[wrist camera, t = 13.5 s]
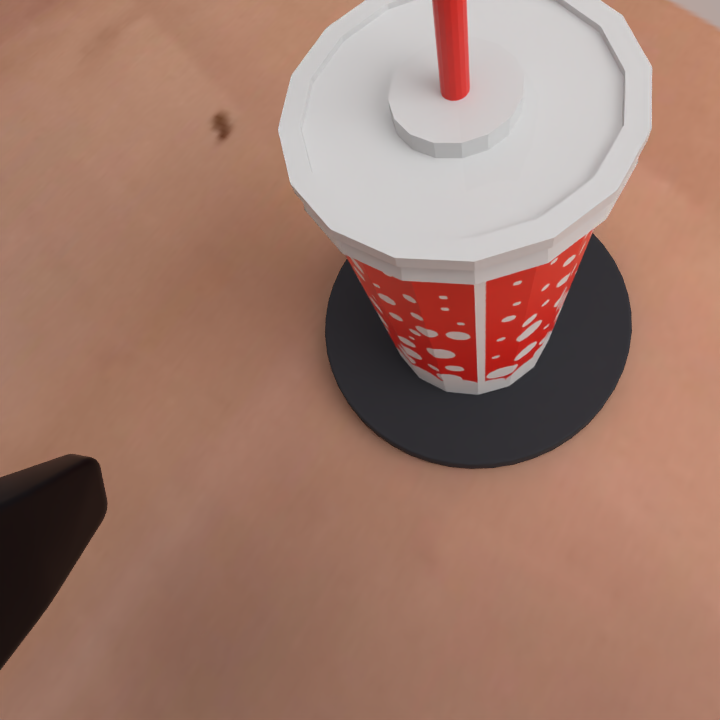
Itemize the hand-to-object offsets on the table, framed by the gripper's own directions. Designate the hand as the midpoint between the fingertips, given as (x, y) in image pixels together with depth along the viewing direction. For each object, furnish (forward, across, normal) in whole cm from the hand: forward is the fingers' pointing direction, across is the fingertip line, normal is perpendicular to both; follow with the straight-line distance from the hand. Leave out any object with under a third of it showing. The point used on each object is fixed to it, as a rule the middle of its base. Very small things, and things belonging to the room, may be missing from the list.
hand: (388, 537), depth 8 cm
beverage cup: (+11, 0, +1) cm, 11 cm away
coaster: (+12, 0, +1) cm, 12 cm away
